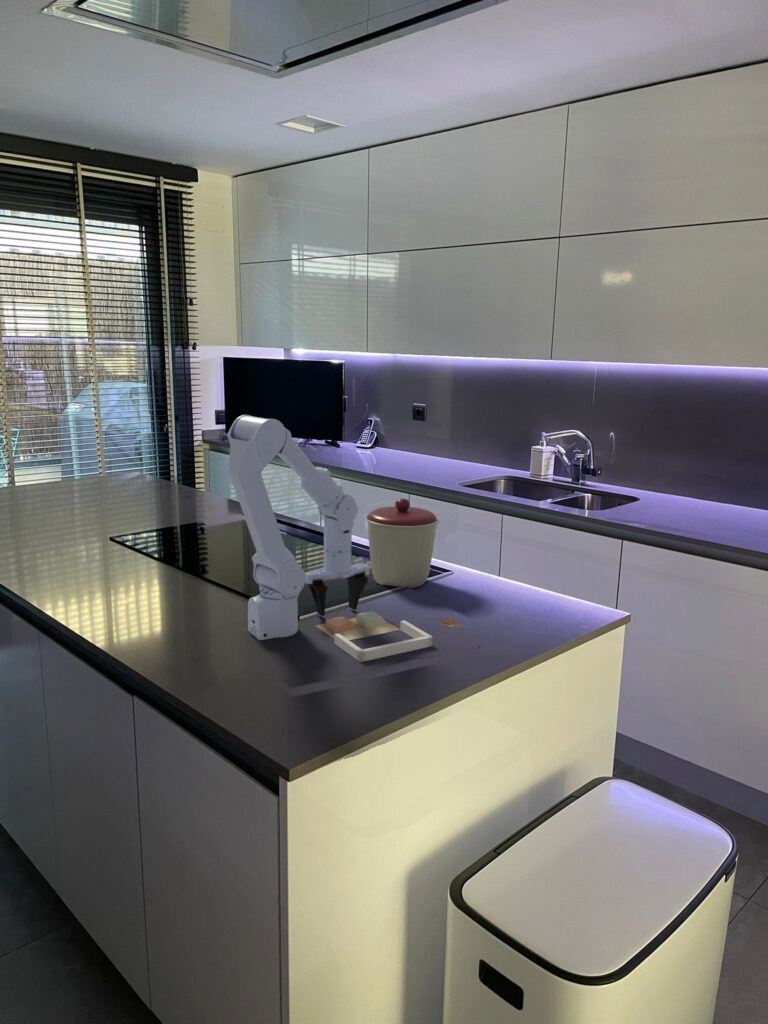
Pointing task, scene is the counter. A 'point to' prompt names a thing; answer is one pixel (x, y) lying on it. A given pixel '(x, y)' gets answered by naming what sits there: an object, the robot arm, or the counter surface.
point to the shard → (450, 623)
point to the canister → (401, 544)
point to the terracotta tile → (339, 624)
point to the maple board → (361, 630)
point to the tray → (361, 655)
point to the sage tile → (369, 618)
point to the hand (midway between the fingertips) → (336, 611)
